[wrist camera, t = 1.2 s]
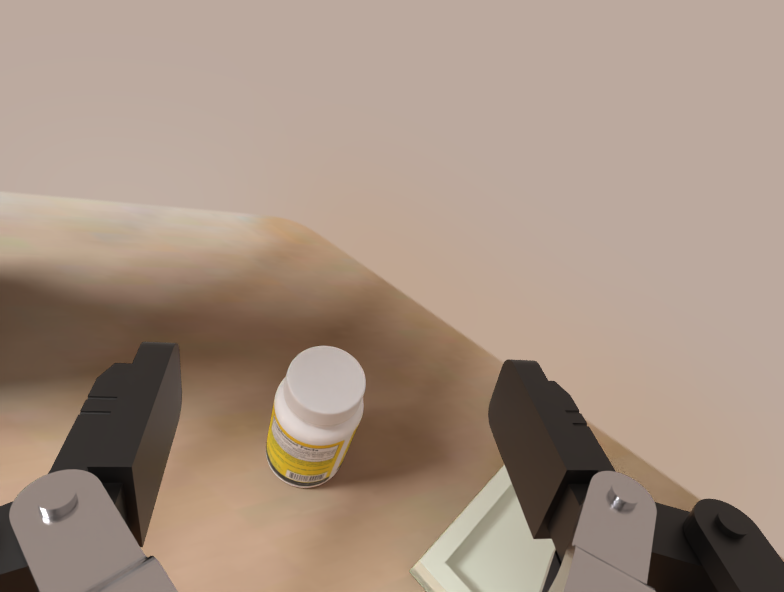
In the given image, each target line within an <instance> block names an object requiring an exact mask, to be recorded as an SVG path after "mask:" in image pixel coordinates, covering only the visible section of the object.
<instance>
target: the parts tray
mask: <svg viewBox="0 0 784 592" xmlns="http://www.w3.org/2000/svg"><path fill="white" fill-rule="evenodd" d="M554 549H555V546H554V543H553V541H552V539H533V537H532V534H531V532H530V529H529V527H528V524H527V521H526V519H525V516H524V514H523V511H522V508H521V506H520V503H519V501H518V498H517V495H516V493H515V490H514V488H513V485H512V482H511V480H510V477H509V475H508V472H507V470H506V467H505V464H504V465H503V466H502V467H501V468H500V469H499V470H498V472H497V473H496V474H495V475H494V476H493V477H492V478H491V479H490V481H489V482H488V483H487V484H486V485H485V486H484V487H483V488H482V490H481V491H480V492H479V493H478V494H477V495H476V496H475V497H474V499H473V500H472V501H471V502H470V503H469V504H468V505H467V506H466V508H465V509H464V510H463V511H462V512H461V513H460V514H459V515H458V517H457V518H456V519H455V520H454V521H453V522H452V523H451V524H450V526H449V527H448V528H447V529H446V530H445V531H444V532H443V533H442V535H441V536H440V537H439V538H438V539H437V540H436V541H435V542H434V544H433V545H432V546H431V547H430V548H429V549H428V550H427V551H426V553H425V554H424V555H423V556H422V557H421V558H420V559H419V560H418V562H417V563H416V564H415V565H414V566H413V567H412V568H411V569H410V571H409V572H410V573H411V574H412V576H413V577H414V578H415V579H416V580H417V581H418V582H419V584H420V585H421V586H422V587H423V588H424V589H425V590H426V592H539V591H540V588H541V585H542V582H543V579H544V576H545V573H546V569H547V566H548V563H549V560H550V557H551V555H552V553H553V551H554Z"/></svg>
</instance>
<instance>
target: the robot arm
mask: <svg viewBox="0 0 784 592" xmlns="http://www.w3.org/2000/svg"><path fill="white" fill-rule="evenodd" d="M181 403H182V388H181V371H180V354H179V346H178V344H177V343H161V342H142V343H141V345H140V347H139V349H138V352H137V354H136V356H135V358H134V361H133V363H132V364H127V363H115V364H113V365H112V366H111V367H110V368H109V369H107V370H106V371H105V372H104V373H103V374H101V375H100V376H99V377H98V378H97V379H96V381H95V383H94V385H93V387H92V389H91V391H90V393H89V395H88V400H86V401H85V403H84V405H83V407H82V409H81V412H80V415H78V417H77V419H76V421H75V423H74V425H73V426H72V428H71V430H70V432H69V434H68V436H67V438H66V440H65V442H64V444H63V446H62V448H61V450H60V452H59V454H58V456H57V458H56V460H55V462H54V464H53V466H52V468H51V470H50V471H49V473H48V474H47V475H44V476H42V477H40V478H38V479H37V480H35V481H33V482H32V483H30V484H29V485H28V486H27V487H25V488H24V489H23V490H22V491H21V492H20V493H19V494H18V496H17V497H16V498H15V500H14V501H13V502H10V503H8V504H5V505H3V506H0V592H178V591H177V590H176V588H175V586H174V585H173V583H172V582H171V580H170V578H169V577H168V575H167V573H166V572H165V570H164V569H163V567H162V565H161V564H160V563H159V561H158V560H157V559H156V558H155V557H154V556H150V557H146V555H145V554H144V553H143V551H142V550H141V548H140V547H143V544H144V541H145V537H146V534H147V530H148V527H149V523H150V520H151V516H152V513H153V509H154V506H155V502H156V499H157V495H158V491H159V488H160V484H161V481H162V477H163V474H164V470H165V467H166V463H167V460H168V456H169V453H170V449H171V446H172V442H173V439H174V435H175V432H176V428H177V425H178V421H179V417H180V411H181ZM488 417H489V424H490V428H491V431H492V433H493V436H494V438H495V441H496V444H497V446H498V449H499V451H500V454H501V457H502V459H503V462H504V464H505V467H506V470H507V472H508V475H509V477H510V480H511V482H512V485H513V488H514V490H515V493H516V495H517V498H518V501H519V503H520V506H521V508H522V511H523V514H524V516H525V519H526V521H527V524H528V527H529V529H530V532H531V534H532V537H533V539H552V541H553V543H554V546H555V549H554V551H553V553H552V555H551V557H550V560H549V563H548V566H547V569H546V573H545V576H544V579H543V582H542V585H541V588H540V591H539V592H784V562H783V561H782V559H781V558H780V557H779V555H778V554H777V553H776V551H775V550H774V548H773V547H772V546H771V544H770V543H769V542H768V540H767V539H766V537H765V536H764V535H763V534H762V532H761V531H760V529H759V528H758V527H757V525H756V524H755V523H754V522H753V521H752V520H751V519H750V518H749V517H747V515H745V514H744V513H743V512H741V511H740V510H738V509H737V508H735V507H734V506H732V505H730V504H728V503H725V502H723V501H719V500H716V499H703V500H700V501H699V502H698V503H697V504H696V505H695V506H694V508H693V509H692V511H691V512H688V511H684V510H681V509H677V508H673V507H670V506H666V505H663V504H659V503H656V502H654V500H653V498H652V497H651V495H650V494H649V493H648V491H647V490H646V489H645V488H644V487H643V486H642V485H640V484H639V483H638V482H637V481H635V480H634V479H632V478H630V477H628V476H626V475H624V474H622V473H618V472H616V471H615V470H614V468H613V466H612V465H611V463H610V461H609V460H608V458H607V456H606V454H605V453H604V451H603V449H602V448H601V446H600V444H599V443H598V441H597V439H596V438H595V436H594V434H593V433H592V431H591V429H590V428H589V427H587V423H586V421H585V419H584V418H583V416H582V414H579V409H578V408H577V406H576V404H575V403H574V401H573V399H572V398H571V396H570V395H569V394H568V393H567V392H566V391H565V390H564V389H563V388H561V387H560V386H559V385H558V384H557V383H556V382H555V381H548V380H547V378H546V376H545V374H544V372H543V371H542V369H541V367H540V365H539V364H538V363H537V362H536V361H527V360H506V361H505V362H504V364H503V366H502V369H501V371H500V374H499V377H498V380H497V383H496V386H495V389H494V392H493V395H492V398H491V401H490V404H489V411H488Z"/></svg>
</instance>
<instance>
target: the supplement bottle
mask: <svg viewBox="0 0 784 592" xmlns="http://www.w3.org/2000/svg"><path fill="white" fill-rule="evenodd" d="M365 388H366V378H365V374H364V371H363V369H362V367H361V365H360V364H359V362H358V361H357V360H356V359H355V358H354V357H353V356H352V355H350V354H349V353H347V352H346V351H344V350H342V349H339V348H336V347H331V346H315V347H311V348H308V349H306V350H304V351H302V352H301V353H299V354H298V355H297V356H296V357H295V358H294V359H293V360H292V362H291V364H290V366H289V368H288V371H287V375H286V377H285V378H284V379H283V380H282V382H281V383H280V385H279V387H278V389H277V391H276V394H275V399H274V404H273V410H272V415H271V421H270V426H269V432H268V437H267V444H266V457H267V461H268V464H269V466H270V468H271V470H272V471H273V472H274V474H275V475H276V476H277V477H278V478H279V479H281V480H282V481H284V482H285V483H287V484H289V485H291V486H295V487H300V488H310V487H315V486H319V485H321V484H323V483H325V482H327V481H328V480H329V479H331V478H332V477H333V476H334V475H335V474H336V472H337V471H338V470H339V468H340V466H341V464H342V462H343V460H344V457H345V455H346V453H347V450H348V448H349V446H350V443H351V441H352V439H353V436H354V434H355V432H356V430H357V428H358V425H359V423H360V421H361V419H362V415H363V408H364V402H363V395H364V392H365Z"/></svg>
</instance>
